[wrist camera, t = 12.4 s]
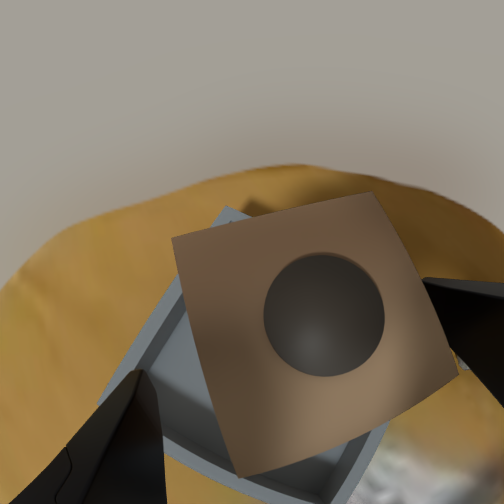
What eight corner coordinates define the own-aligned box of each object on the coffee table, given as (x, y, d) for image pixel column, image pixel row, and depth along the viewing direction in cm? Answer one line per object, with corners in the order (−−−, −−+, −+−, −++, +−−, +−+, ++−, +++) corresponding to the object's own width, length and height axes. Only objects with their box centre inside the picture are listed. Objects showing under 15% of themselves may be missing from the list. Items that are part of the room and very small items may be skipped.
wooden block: (328, 391, 14) (462, 373, 4) (242, 420, 14) (237, 481, 4) (299, 313, 17) (373, 187, 7) (216, 337, 16) (169, 234, 6)
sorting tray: (404, 316, 17) (427, 302, 15) (319, 504, 11) (333, 521, 9) (228, 231, 20) (225, 205, 17) (119, 403, 14) (96, 403, 12)
